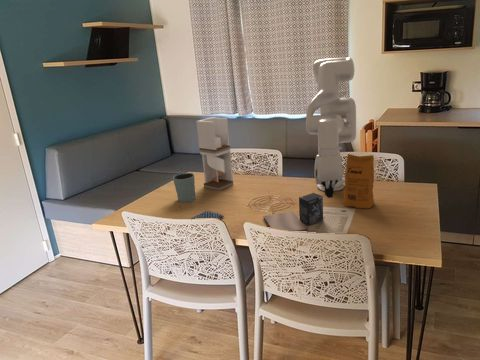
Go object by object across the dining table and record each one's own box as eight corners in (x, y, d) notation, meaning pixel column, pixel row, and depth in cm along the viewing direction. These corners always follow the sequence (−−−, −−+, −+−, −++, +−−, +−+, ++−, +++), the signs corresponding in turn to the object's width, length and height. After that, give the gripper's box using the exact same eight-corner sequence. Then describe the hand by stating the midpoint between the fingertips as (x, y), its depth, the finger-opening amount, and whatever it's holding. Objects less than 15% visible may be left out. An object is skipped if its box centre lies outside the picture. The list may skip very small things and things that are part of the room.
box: (308, 226, 156) (308, 200, 152) (299, 222, 160) (298, 197, 157) (323, 220, 159) (323, 195, 156) (313, 216, 164) (313, 192, 161)
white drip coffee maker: (204, 186, 212) (196, 121, 202) (218, 181, 220) (211, 117, 209) (219, 190, 205) (212, 122, 194) (233, 184, 213) (227, 118, 202)
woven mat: (208, 227, 163) (207, 223, 163) (190, 222, 170) (189, 218, 170) (225, 218, 171) (225, 214, 170) (207, 213, 178) (207, 209, 177)
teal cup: (201, 198, 196) (198, 174, 193) (185, 204, 190) (181, 180, 186) (187, 194, 203) (184, 171, 200) (171, 200, 196) (168, 177, 193)
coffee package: (347, 198, 179) (347, 150, 173) (376, 202, 173) (377, 152, 166) (340, 206, 171) (340, 156, 165) (370, 210, 165) (371, 158, 158)
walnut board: (292, 214, 167) (292, 211, 167) (308, 232, 151) (307, 228, 150) (263, 219, 165) (263, 216, 165) (275, 237, 149) (275, 233, 148)
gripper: (342, 146, 157) (342, 191, 163) (306, 151, 155) (307, 196, 160) (351, 151, 150) (351, 197, 156) (313, 156, 148) (314, 202, 153)
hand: (329, 196), depth 158 cm, fingers closed
